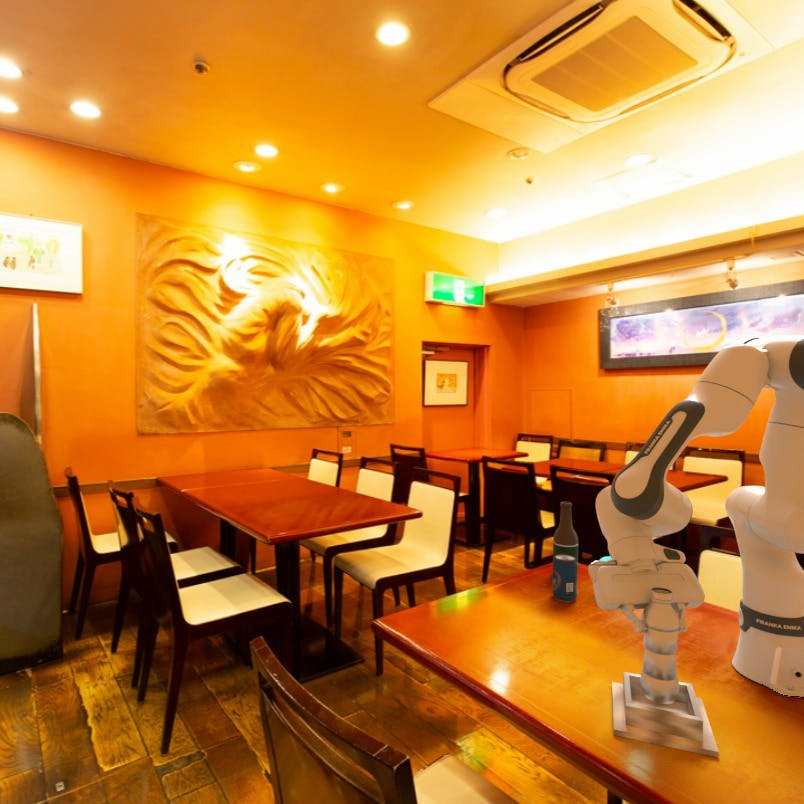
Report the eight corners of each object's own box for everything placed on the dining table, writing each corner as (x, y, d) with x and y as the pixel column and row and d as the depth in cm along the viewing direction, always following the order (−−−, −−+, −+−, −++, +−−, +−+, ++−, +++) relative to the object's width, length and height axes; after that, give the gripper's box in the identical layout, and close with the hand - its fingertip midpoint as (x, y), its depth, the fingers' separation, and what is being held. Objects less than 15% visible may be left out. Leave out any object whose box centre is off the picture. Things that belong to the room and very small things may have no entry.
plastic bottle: (686, 701, 96) (689, 592, 96) (666, 714, 92) (669, 600, 92) (652, 685, 101) (654, 581, 101) (632, 696, 97) (634, 588, 97)
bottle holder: (701, 703, 101) (701, 680, 101) (718, 757, 86) (719, 731, 86) (612, 686, 107) (612, 664, 107) (613, 734, 92) (614, 709, 92)
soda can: (548, 594, 156) (548, 553, 155) (570, 593, 156) (571, 553, 156) (557, 603, 149) (558, 561, 148) (581, 602, 149) (581, 560, 149)
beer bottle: (551, 578, 168) (552, 503, 168) (553, 570, 176) (554, 499, 175) (577, 581, 166) (578, 505, 165) (578, 573, 173) (579, 500, 172)
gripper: (590, 553, 102) (613, 625, 93) (691, 552, 104) (723, 623, 94) (580, 568, 107) (601, 638, 97) (677, 567, 108) (706, 636, 99)
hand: (662, 631), depth 96 cm, fingers closed on plastic bottle, 6 cm apart
